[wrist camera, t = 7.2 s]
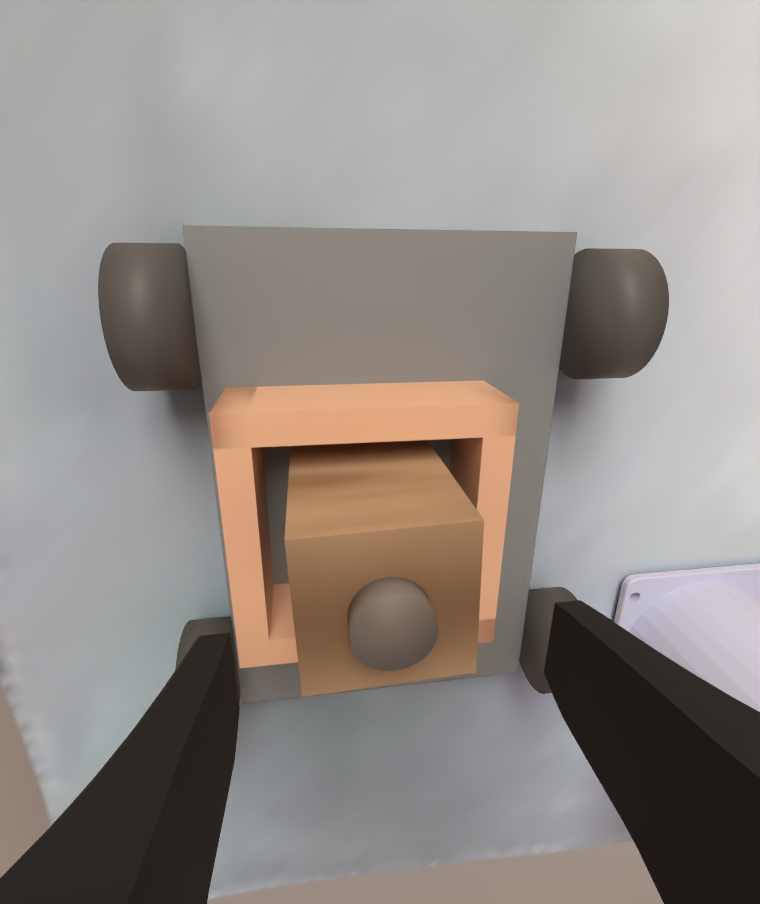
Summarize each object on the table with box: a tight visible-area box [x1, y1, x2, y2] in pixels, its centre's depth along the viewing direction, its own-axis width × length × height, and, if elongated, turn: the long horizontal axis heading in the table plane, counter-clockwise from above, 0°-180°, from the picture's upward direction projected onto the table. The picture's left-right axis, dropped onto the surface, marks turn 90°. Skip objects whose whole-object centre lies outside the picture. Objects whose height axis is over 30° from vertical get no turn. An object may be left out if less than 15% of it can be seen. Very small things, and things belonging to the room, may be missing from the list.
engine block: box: [284, 440, 484, 697], centre depth 14 cm, size 4×4×7 cm
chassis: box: [98, 226, 669, 704], centre depth 17 cm, size 18×15×4 cm
